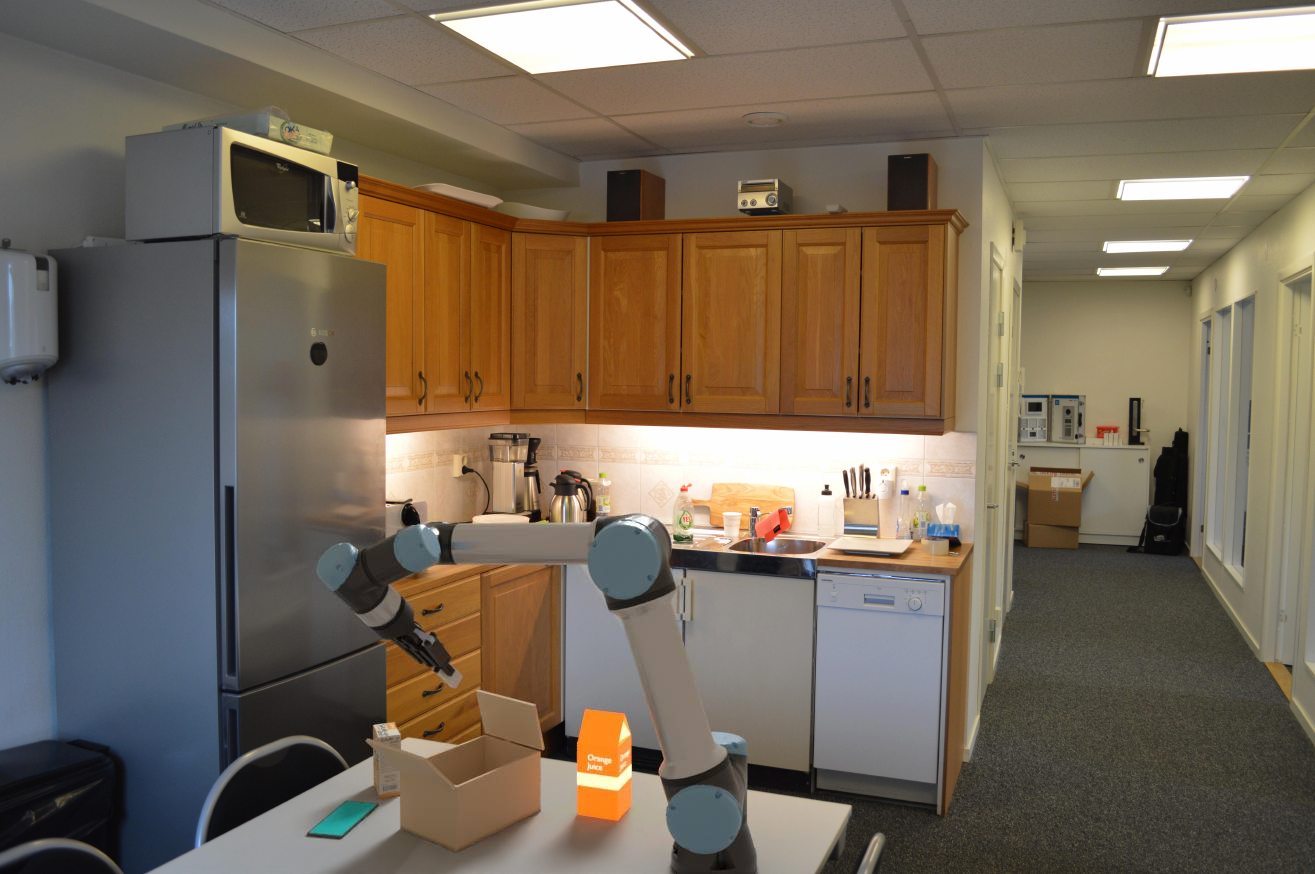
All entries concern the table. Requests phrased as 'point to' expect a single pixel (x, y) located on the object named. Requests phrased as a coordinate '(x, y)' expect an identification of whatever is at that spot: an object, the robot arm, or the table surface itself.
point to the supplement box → (383, 770)
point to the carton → (472, 793)
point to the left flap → (411, 763)
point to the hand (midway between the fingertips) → (456, 681)
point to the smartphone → (343, 819)
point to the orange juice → (604, 765)
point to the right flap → (510, 719)
